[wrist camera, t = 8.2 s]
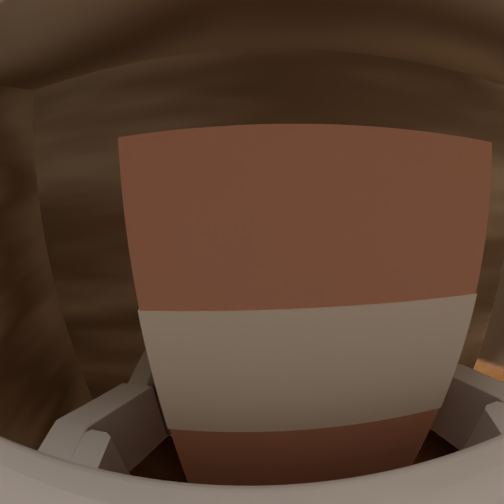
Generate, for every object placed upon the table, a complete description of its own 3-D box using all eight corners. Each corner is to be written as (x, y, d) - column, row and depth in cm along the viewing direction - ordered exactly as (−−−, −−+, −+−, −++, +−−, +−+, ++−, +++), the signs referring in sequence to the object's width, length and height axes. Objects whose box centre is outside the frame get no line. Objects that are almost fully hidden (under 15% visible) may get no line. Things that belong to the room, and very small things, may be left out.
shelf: (503, 493, 9) (620, 50, 3) (46, 513, 9) (-104, 59, 3) (448, 399, 17) (494, 68, 11) (95, 412, 18) (30, 77, 11)
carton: (352, 555, 8) (493, 142, 3) (222, 563, 8) (116, 137, 4) (336, 468, 12) (376, 141, 8) (229, 474, 13) (193, 143, 8)
